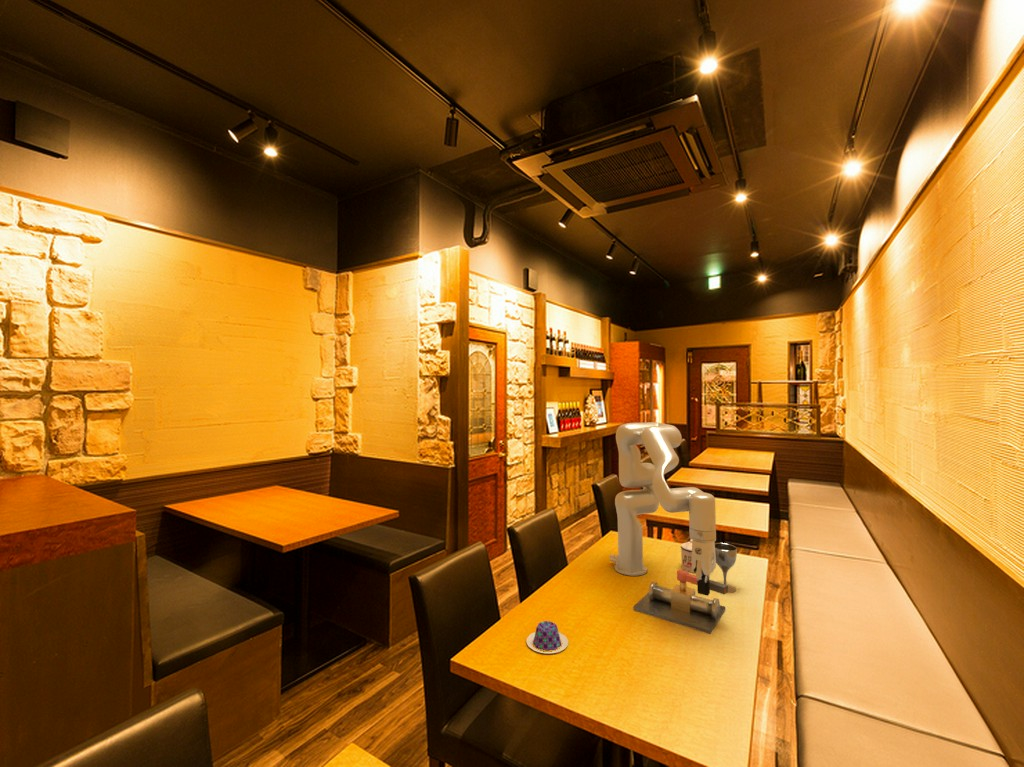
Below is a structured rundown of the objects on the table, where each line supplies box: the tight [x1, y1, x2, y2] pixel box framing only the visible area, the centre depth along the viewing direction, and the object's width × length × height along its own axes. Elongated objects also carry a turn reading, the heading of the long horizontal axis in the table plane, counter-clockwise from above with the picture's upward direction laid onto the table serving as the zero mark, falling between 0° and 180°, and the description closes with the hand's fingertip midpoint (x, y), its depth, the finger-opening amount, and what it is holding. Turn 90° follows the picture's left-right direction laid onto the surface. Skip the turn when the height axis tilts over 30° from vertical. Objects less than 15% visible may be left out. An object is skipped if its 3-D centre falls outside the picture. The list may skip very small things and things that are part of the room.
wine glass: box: [715, 542, 738, 593], centre depth 163 cm, size 8×8×15 cm
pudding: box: [526, 620, 569, 654], centre depth 130 cm, size 12×12×5 cm
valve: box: [632, 581, 726, 634], centre depth 148 cm, size 24×18×10 cm
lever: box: [676, 569, 729, 595], centre depth 143 cm, size 16×4×2 cm, turn 41°
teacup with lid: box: [680, 539, 697, 574], centre depth 180 cm, size 12×9×12 cm
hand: (703, 593), depth 138 cm, fingers closed
